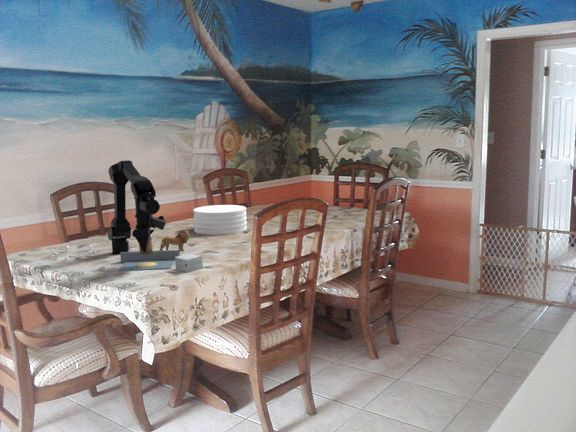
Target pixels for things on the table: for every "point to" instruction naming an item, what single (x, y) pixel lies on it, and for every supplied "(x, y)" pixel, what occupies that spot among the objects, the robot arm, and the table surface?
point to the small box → (189, 262)
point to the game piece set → (68, 250)
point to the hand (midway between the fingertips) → (145, 249)
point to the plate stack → (220, 219)
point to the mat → (146, 265)
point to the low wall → (149, 256)
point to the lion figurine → (175, 240)
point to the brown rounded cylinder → (149, 247)
